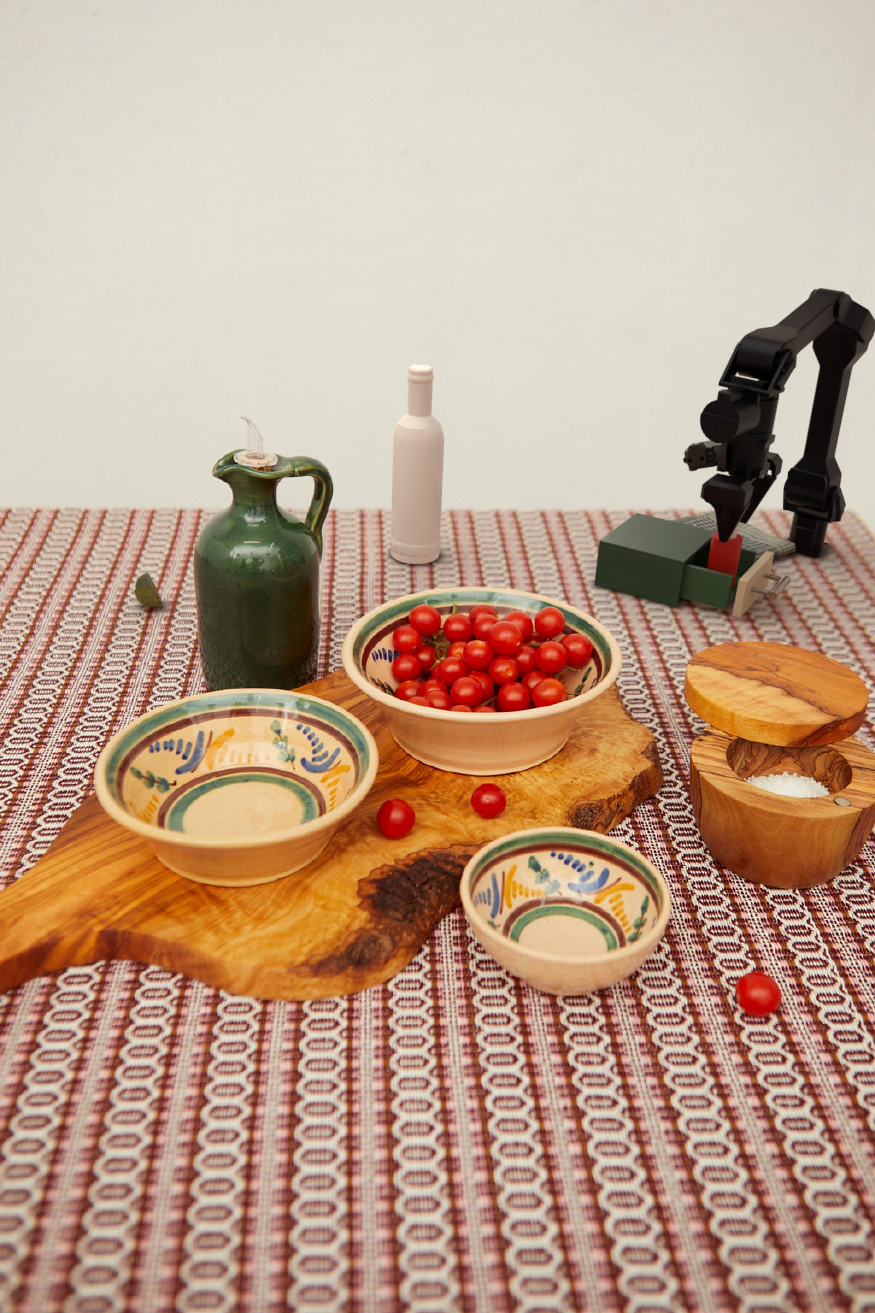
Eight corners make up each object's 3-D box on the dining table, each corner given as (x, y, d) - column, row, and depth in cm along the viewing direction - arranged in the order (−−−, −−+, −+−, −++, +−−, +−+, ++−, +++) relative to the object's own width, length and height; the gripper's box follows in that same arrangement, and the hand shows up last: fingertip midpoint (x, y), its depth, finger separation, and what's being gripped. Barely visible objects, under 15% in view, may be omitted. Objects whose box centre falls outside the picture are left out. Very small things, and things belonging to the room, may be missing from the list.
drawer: (792, 593, 166) (800, 558, 163) (766, 625, 156) (774, 588, 153) (690, 567, 173) (695, 533, 170) (659, 595, 163) (664, 560, 160)
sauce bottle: (710, 577, 167) (720, 515, 163) (737, 584, 165) (749, 522, 161) (700, 586, 164) (710, 524, 159) (728, 594, 162) (739, 531, 157)
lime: (152, 596, 158) (149, 564, 156) (175, 606, 156) (172, 573, 154) (128, 607, 155) (124, 574, 153) (151, 616, 153) (148, 584, 150)
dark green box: (709, 575, 173) (717, 531, 169) (676, 607, 162) (684, 561, 158) (630, 555, 179) (636, 512, 175) (594, 585, 168) (599, 540, 164)
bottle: (379, 554, 175) (382, 366, 161) (412, 541, 180) (418, 357, 166) (417, 569, 170) (423, 376, 156) (449, 555, 176) (458, 367, 161)
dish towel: (799, 554, 181) (802, 536, 180) (723, 577, 172) (726, 558, 171) (716, 517, 195) (719, 500, 193) (642, 537, 186) (644, 519, 184)
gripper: (718, 403, 163) (702, 502, 171) (673, 432, 149) (657, 539, 157) (792, 416, 158) (772, 518, 166) (753, 448, 144) (733, 557, 152)
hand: (733, 532), depth 160 cm, fingers open, 9 cm apart
